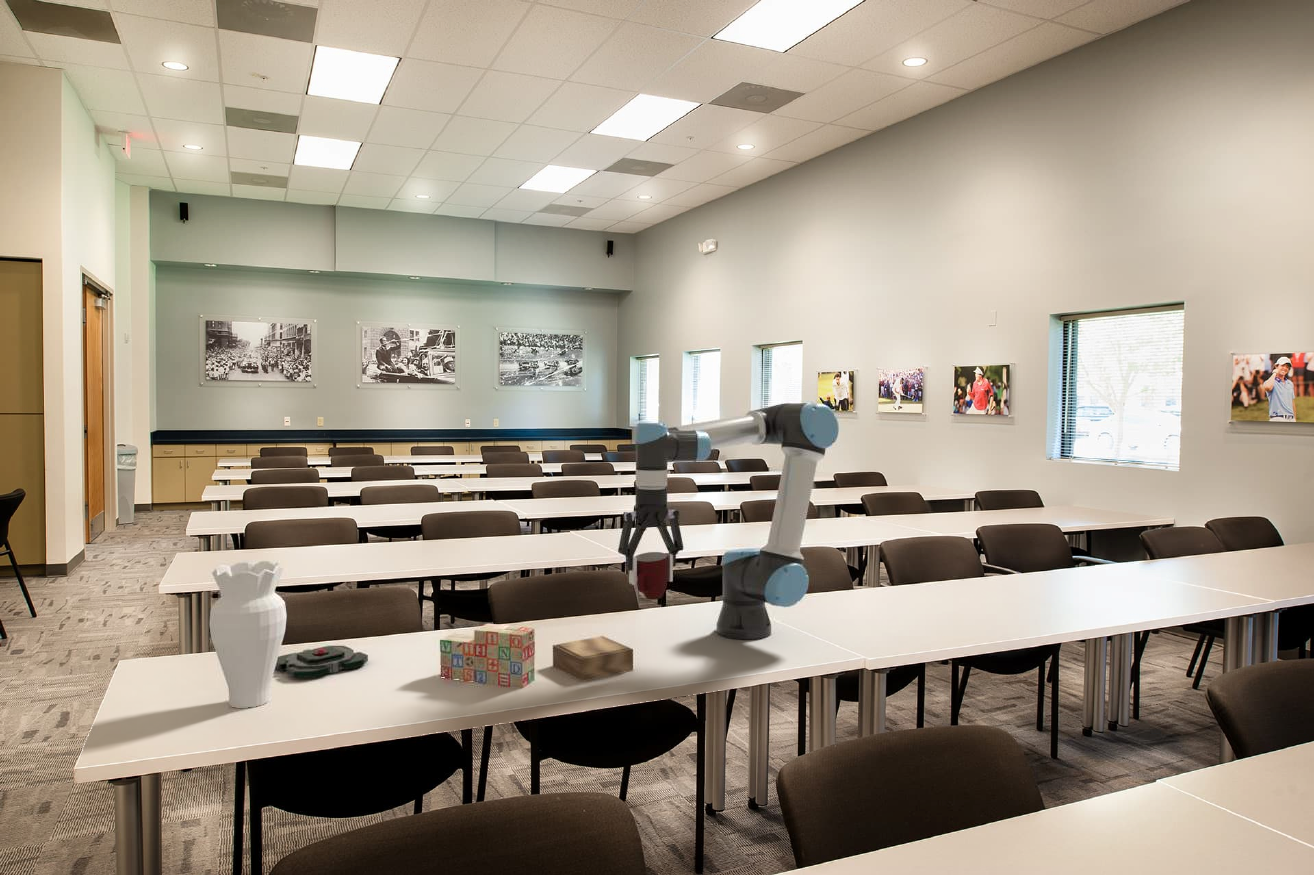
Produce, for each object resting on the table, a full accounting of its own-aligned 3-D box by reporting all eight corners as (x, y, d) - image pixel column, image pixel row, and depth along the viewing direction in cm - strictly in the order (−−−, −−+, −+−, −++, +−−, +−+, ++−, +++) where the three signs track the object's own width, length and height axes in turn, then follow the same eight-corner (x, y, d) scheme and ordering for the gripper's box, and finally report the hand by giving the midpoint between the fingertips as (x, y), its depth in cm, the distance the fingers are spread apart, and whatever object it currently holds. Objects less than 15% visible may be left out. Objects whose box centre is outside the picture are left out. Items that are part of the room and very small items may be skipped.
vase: (237, 719, 169) (234, 575, 168) (196, 706, 177) (193, 568, 176) (302, 698, 181) (300, 563, 180) (261, 686, 189) (259, 557, 188)
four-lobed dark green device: (374, 667, 204) (373, 649, 204) (300, 685, 191) (299, 665, 191) (339, 653, 216) (338, 635, 216) (267, 668, 203) (267, 650, 203)
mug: (660, 607, 195) (657, 565, 193) (628, 605, 198) (624, 564, 196) (675, 592, 205) (672, 552, 203) (644, 590, 208) (641, 551, 206)
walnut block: (602, 655, 212) (602, 635, 211) (633, 670, 200) (633, 648, 200) (552, 665, 204) (552, 644, 203) (581, 681, 192) (581, 658, 192)
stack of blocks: (439, 679, 194) (439, 626, 194) (454, 671, 200) (454, 619, 200) (522, 689, 187) (522, 634, 187) (535, 680, 193) (535, 627, 193)
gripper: (684, 484, 208) (683, 575, 209) (603, 488, 199) (603, 583, 200) (698, 487, 201) (698, 581, 202) (615, 490, 192) (615, 589, 193)
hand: (651, 582), depth 201 cm, fingers closed on mug, 9 cm apart
